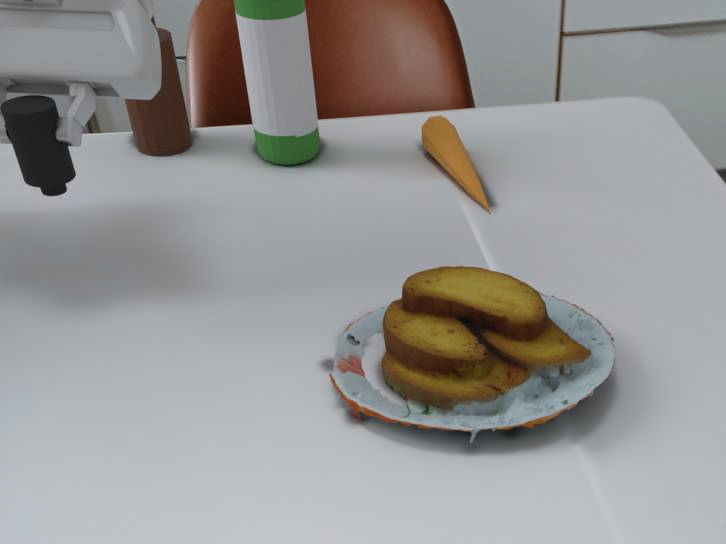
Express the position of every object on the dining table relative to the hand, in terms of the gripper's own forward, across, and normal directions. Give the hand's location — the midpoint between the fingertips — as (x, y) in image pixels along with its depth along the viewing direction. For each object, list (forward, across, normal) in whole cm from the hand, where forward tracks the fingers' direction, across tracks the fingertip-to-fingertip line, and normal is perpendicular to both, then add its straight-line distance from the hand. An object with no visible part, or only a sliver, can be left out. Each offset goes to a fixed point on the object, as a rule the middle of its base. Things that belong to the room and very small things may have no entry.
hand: (36, 142), depth 82 cm
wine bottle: (-16, +12, +37) cm, 42 cm away
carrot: (-12, +34, +34) cm, 49 cm away
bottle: (-17, -4, +38) cm, 42 cm away
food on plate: (+17, +38, +4) cm, 42 cm away
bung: (+3, 0, +4) cm, 4 cm away
